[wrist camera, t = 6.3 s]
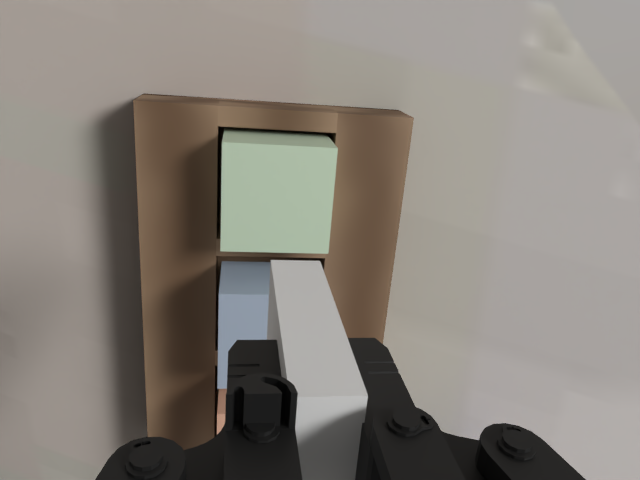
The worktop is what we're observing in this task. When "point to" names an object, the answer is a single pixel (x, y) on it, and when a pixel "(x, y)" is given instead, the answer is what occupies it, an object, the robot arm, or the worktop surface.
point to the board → (206, 258)
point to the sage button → (276, 191)
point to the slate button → (241, 308)
